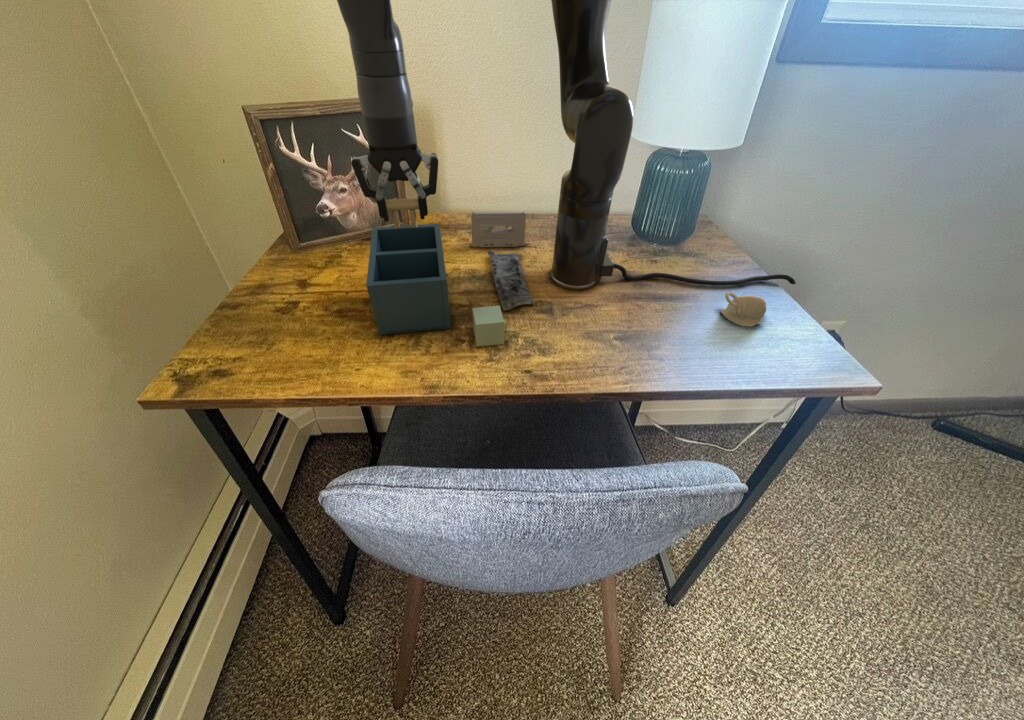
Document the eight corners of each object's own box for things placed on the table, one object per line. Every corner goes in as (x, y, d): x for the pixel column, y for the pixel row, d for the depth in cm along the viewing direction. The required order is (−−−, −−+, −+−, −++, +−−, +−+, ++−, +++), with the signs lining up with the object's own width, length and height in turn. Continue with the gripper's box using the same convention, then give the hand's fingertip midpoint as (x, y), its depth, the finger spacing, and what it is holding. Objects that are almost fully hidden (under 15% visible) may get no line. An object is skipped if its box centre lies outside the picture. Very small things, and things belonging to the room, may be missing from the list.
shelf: (383, 273, 80) (366, 198, 69) (443, 268, 82) (436, 195, 71) (379, 335, 68) (358, 256, 57) (451, 328, 70) (443, 250, 59)
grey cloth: (535, 309, 74) (535, 300, 73) (498, 312, 74) (498, 302, 72) (518, 256, 90) (518, 247, 88) (487, 257, 89) (487, 248, 87)
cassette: (472, 247, 91) (470, 214, 86) (472, 244, 93) (470, 211, 87) (524, 247, 92) (526, 214, 87) (524, 243, 94) (525, 210, 88)
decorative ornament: (764, 329, 72) (779, 304, 68) (715, 322, 73) (727, 297, 69) (759, 316, 75) (772, 291, 71) (712, 309, 76) (723, 285, 72)
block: (499, 327, 70) (499, 305, 67) (504, 344, 67) (504, 322, 64) (473, 329, 70) (472, 307, 67) (476, 346, 66) (475, 324, 63)
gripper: (333, 116, 57) (361, 230, 68) (437, 114, 59) (447, 225, 70) (340, 104, 62) (365, 211, 74) (434, 103, 64) (444, 207, 76)
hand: (405, 218), depth 72 cm, fingers closed on shelf, 5 cm apart
